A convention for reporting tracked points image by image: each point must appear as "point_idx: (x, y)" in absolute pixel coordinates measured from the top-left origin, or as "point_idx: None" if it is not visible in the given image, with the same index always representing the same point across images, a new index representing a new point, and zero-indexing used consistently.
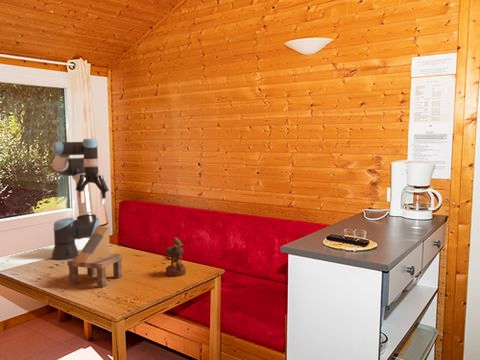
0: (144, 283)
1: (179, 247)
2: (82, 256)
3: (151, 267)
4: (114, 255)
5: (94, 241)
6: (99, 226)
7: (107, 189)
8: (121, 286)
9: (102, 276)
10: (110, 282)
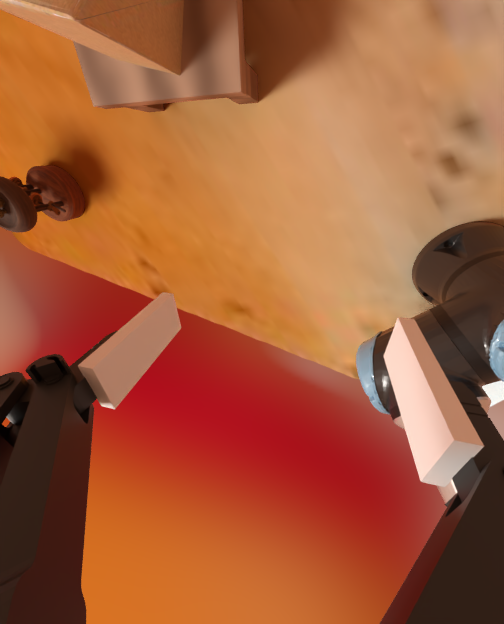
0: (52, 75)
1: (3, 224)
2: None
3: (143, 225)
4: (102, 71)
5: None
6: (50, 5)
7: (9, 419)
8: None
9: None
10: None
